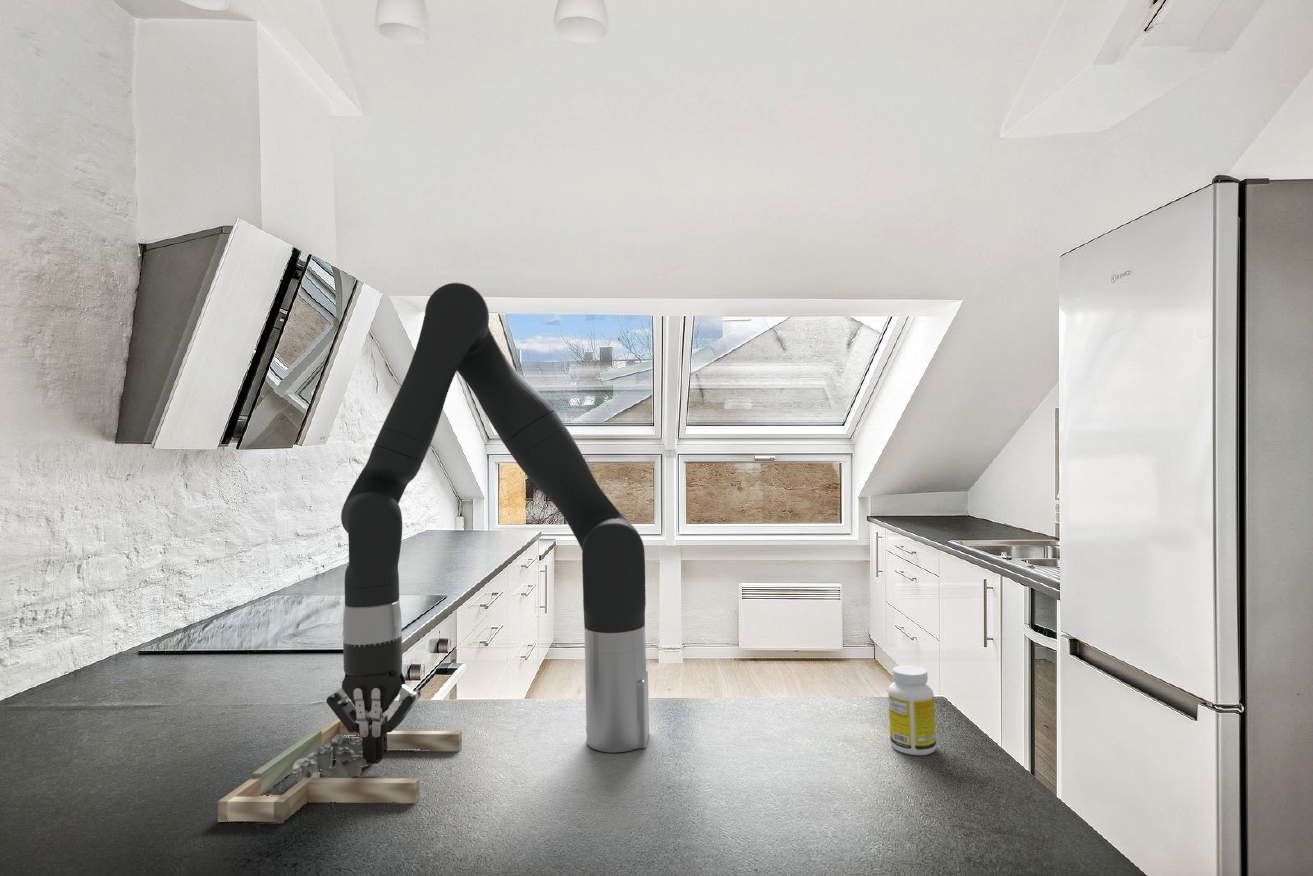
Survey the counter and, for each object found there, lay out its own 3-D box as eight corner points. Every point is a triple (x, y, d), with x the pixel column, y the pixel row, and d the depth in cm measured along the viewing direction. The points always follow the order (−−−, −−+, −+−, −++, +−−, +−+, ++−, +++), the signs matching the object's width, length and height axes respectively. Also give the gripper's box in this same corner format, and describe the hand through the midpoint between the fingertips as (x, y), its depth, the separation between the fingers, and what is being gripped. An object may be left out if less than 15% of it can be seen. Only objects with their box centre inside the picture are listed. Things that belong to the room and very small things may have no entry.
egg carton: (335, 796, 88) (335, 764, 88) (285, 792, 90) (285, 761, 90) (385, 760, 98) (384, 731, 99) (339, 757, 100) (338, 728, 100)
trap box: (473, 734, 106) (473, 715, 107) (397, 824, 80) (397, 798, 80) (336, 734, 108) (336, 715, 108) (217, 822, 82) (217, 797, 82)
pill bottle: (935, 741, 100) (932, 665, 100) (937, 759, 94) (934, 678, 94) (890, 736, 102) (887, 662, 102) (890, 754, 96) (887, 674, 96)
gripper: (430, 627, 98) (432, 750, 97) (341, 629, 99) (342, 750, 98) (407, 641, 90) (409, 774, 90) (311, 643, 91) (313, 774, 91)
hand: (374, 761), depth 94 cm, fingers closed
